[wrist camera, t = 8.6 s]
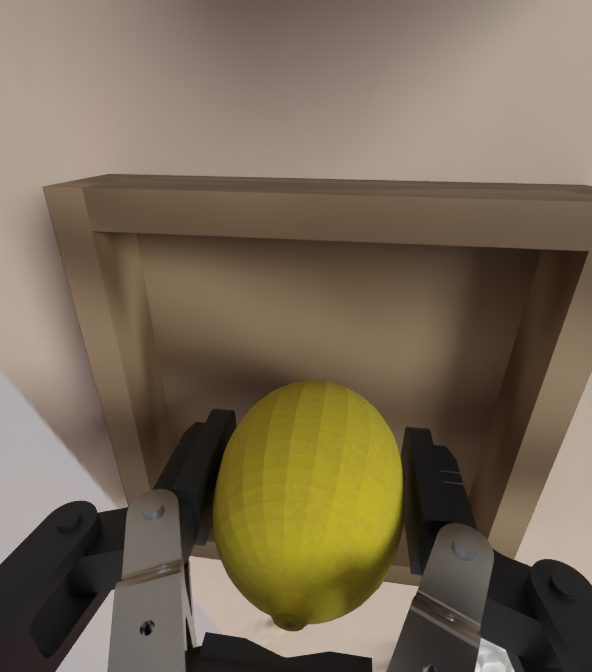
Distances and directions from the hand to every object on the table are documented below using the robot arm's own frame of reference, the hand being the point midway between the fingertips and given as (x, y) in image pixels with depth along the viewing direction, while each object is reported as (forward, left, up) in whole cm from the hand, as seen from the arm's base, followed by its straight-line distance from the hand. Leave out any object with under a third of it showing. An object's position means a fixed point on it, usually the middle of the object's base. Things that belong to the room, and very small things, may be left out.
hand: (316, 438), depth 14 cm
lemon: (0, 0, -2) cm, 2 cm away
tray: (0, 0, -4) cm, 4 cm away
